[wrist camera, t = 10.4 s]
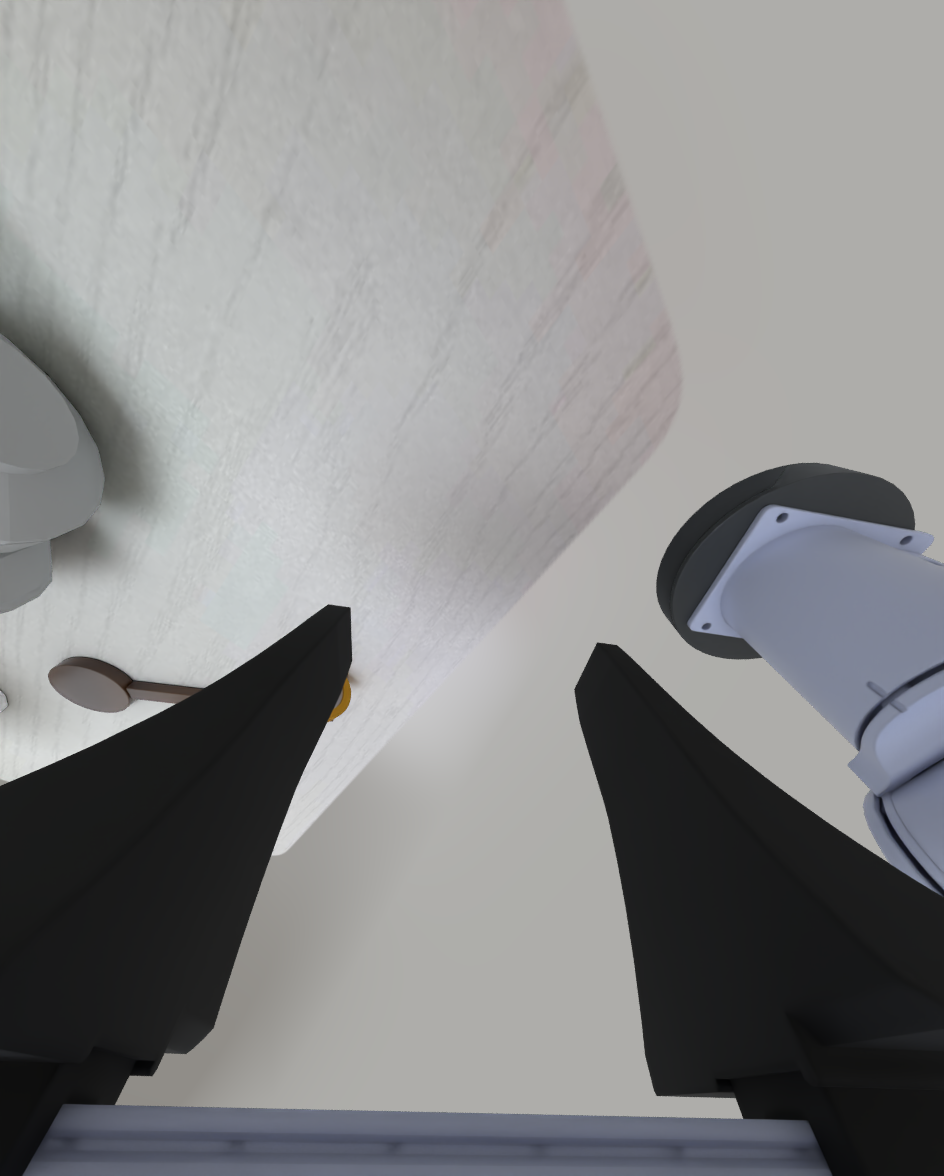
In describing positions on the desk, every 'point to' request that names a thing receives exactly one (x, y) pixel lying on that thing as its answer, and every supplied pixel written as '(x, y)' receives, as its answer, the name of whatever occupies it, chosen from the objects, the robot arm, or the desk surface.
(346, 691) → the tracker
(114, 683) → the spoon
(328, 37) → the desk surface
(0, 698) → the foam cup
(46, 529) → the headphones
